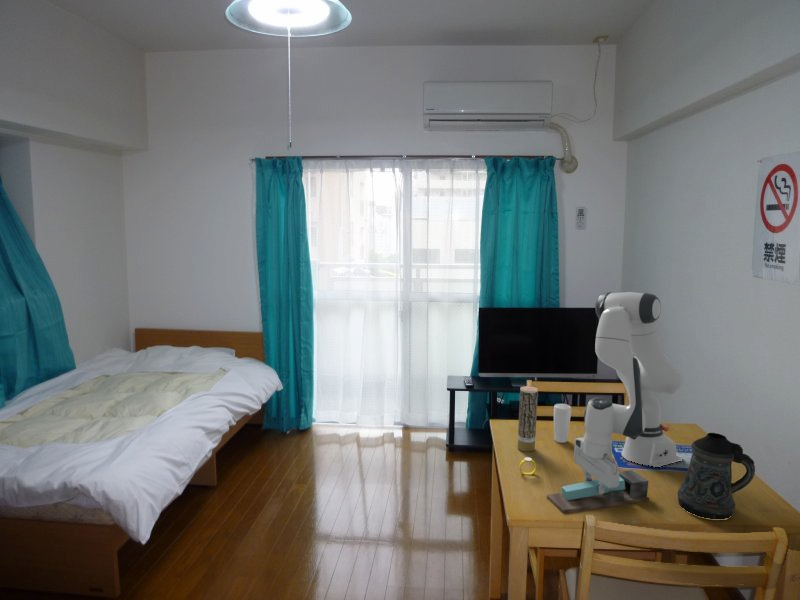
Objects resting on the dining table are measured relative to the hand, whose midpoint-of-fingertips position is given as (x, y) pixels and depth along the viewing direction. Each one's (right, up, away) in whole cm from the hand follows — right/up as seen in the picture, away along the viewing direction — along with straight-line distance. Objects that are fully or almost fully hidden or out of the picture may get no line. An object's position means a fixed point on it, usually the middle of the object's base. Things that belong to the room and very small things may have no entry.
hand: (594, 487), depth 186 cm
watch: (-18, -1, +18) cm, 26 cm away
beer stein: (+36, -6, -4) cm, 37 cm away
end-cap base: (+1, -4, +1) cm, 4 cm away
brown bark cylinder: (-14, +2, +40) cm, 42 cm away
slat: (0, -2, 0) cm, 2 cm away
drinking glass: (+3, +3, +49) cm, 49 cm away
